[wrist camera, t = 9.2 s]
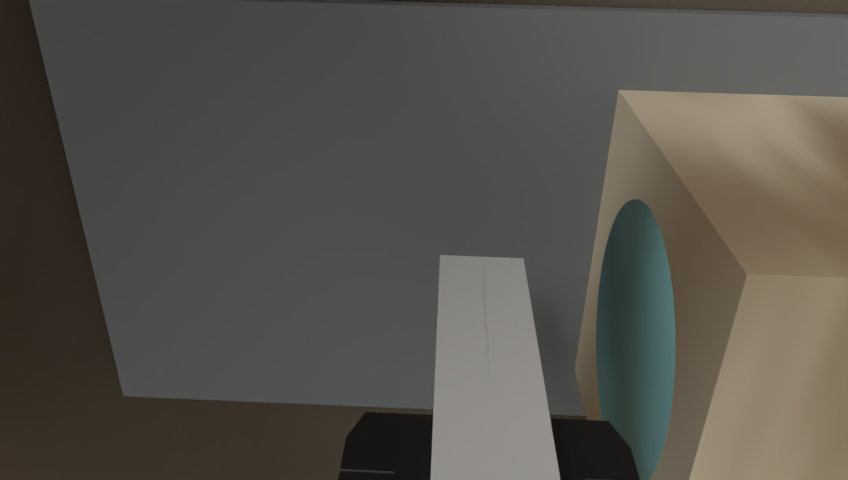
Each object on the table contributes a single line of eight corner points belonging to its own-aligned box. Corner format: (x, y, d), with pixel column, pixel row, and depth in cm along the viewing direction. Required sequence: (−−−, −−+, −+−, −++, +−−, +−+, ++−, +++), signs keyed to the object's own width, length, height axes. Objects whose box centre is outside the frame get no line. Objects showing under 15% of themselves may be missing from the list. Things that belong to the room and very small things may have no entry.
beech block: (639, 651, 11) (1091, 674, 11) (745, 274, 8) (1399, 299, 8) (573, 369, 17) (863, 380, 17) (617, 90, 14) (978, 100, 14)
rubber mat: (129, 386, 19) (123, 396, 18) (38, -10, 14) (27, -6, 13) (1114, 427, 18) (1127, 439, 18) (1375, 28, 13) (1399, 33, 13)
